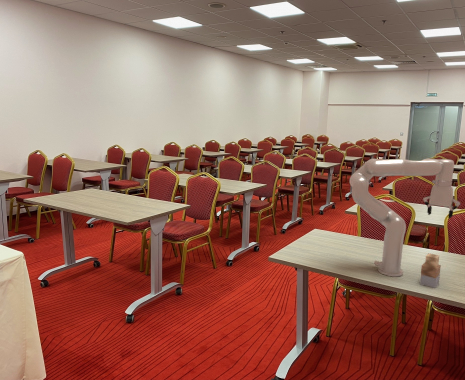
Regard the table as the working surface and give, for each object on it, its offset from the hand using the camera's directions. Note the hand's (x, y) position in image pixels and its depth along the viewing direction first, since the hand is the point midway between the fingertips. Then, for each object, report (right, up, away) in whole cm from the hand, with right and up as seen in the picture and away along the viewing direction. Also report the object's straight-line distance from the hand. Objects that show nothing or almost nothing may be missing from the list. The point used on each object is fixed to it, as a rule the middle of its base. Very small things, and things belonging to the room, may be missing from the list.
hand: (439, 216), depth 204 cm
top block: (-8, -29, -6) cm, 31 cm away
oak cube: (-8, -24, -7) cm, 26 cm away
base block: (-8, -34, -6) cm, 35 cm away
